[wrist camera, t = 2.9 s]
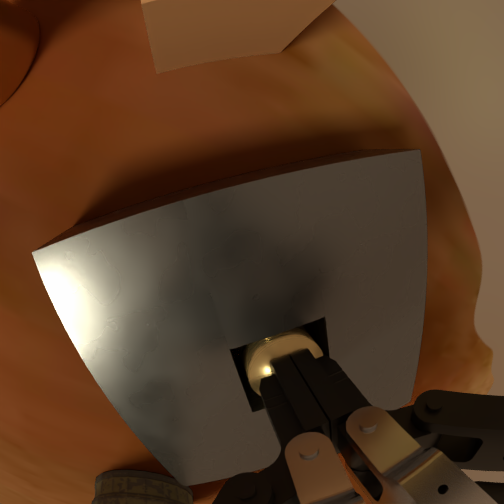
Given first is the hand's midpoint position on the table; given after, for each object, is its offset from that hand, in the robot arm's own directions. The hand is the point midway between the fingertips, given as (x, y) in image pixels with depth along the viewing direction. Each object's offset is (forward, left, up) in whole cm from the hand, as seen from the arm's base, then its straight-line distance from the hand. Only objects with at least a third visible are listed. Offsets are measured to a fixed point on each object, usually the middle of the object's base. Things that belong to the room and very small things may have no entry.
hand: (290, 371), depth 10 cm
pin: (0, 0, -4) cm, 4 cm away
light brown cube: (-15, +1, -4) cm, 16 cm away
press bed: (0, 0, -4) cm, 4 cm away
